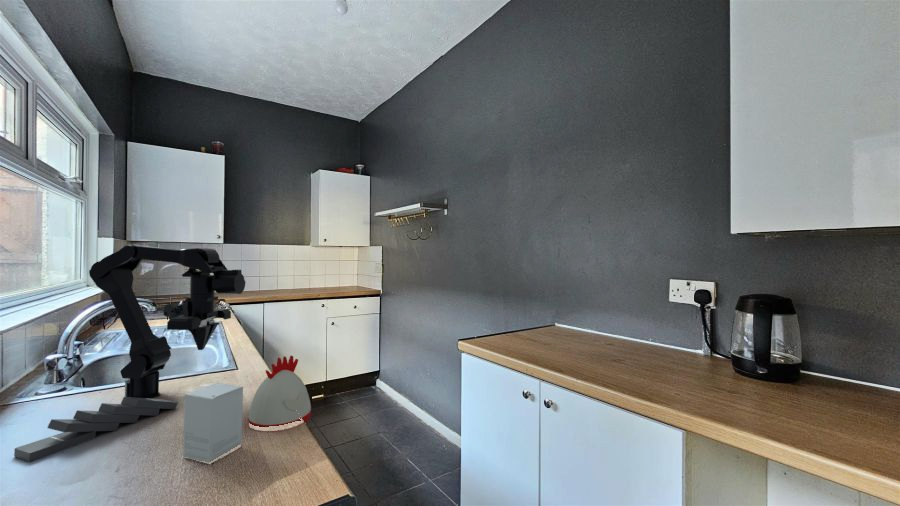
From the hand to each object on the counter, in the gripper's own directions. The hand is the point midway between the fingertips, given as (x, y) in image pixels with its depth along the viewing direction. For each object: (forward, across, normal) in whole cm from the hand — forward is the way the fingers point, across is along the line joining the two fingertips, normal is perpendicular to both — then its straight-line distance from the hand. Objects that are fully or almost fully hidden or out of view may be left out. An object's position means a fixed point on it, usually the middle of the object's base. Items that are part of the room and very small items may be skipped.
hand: (200, 349), depth 102 cm
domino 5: (+12, +7, -3) cm, 14 cm away
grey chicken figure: (+13, +13, +28) cm, 33 cm away
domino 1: (+12, +22, -10) cm, 27 cm away
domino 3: (+12, +15, -7) cm, 20 cm away
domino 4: (+12, +11, -5) cm, 17 cm away
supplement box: (+13, +29, +21) cm, 38 cm away
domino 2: (+12, +19, -8) cm, 24 cm away
